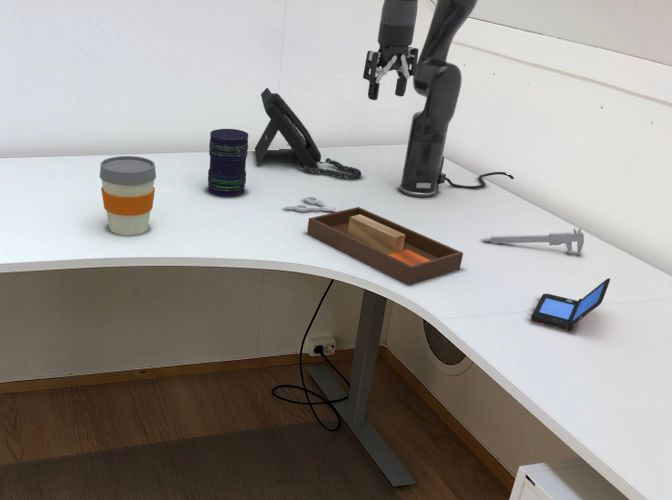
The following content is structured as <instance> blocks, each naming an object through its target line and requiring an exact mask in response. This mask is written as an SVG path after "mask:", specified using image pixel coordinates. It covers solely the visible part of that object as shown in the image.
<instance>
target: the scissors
mask: <svg viewBox="0 0 672 500" xmlns="http://www.w3.org/2000/svg"><path fill="white" fill-rule="evenodd" d="M304 202H306V203H307V204H311V205H312V204H313V205H318V206H319V207H318V206H316V207H315V206H309V205H307V204H295V205H285V210H295V211H297V212H308V211H315V212H317V211H324V212H331V213H334V212H338V211H343V210H344V209H341V208H336V207H334V206H331V205H329V204H328V205H327V204H324V202H321V201H320V200H319V198H317V197H314V196H306V197H305V198H304Z"/></svg>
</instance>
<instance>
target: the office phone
mask: <svg viewBox="0 0 672 500" xmlns="http://www.w3.org/2000/svg"><path fill="white" fill-rule="evenodd" d="M260 97H261V102H262V105H263V109H264V111H265V113H266V115H267V116H268V118H269V119H270V120H269V122H268V123H267V125H266V127H265V129H264V131H263V133H262V134H261V136H260V138H259V140H258V142H257V143H256V144H255V145H256V146H255V147H254V153H255V156H256V162H257V166H258V167H259V165H260V164H261V162H262V160H263V159H264V157H265V155H266V153H267V151H268V150H269V148H270V146H271V145H272V142H273V141H274V139H275V137H276V136H277V134H278V132H279V133H280V134H281V136H282V137H283V139H284V140H285V141H286V142H287V144H288V146H289V147H290V148H291V150H292V151H293V152H294V154H295V155H296V157H297V158H298V160H297V166H298V167H297V168H298V169H301V170H303V171H304V172H307V173H309V174H321V175H324V174H325V175H328V176H335V178H338V177H340V178H342V179H349V180H352V179H357V178H358V179H359V178H360V177H362V170H360V169H358V168H357V167H354V166H348V165H344V164H342V163H340V162H339V161H337V160H335V159H331V158H330V157H328V158H326V159H325V160H324V162H323V161H322V154H321V152H320V150H319V148H318V146H317V145H316V143H315V141H314V139H313V137H312V136H311V134H310V132H309V131H308V129H307V128H306V126H305V125H304V123H303V122H302V121H301V119H300V118H299V117H298V115H296V113H295V112H294V111H293V110H292V109H291V107H290V105H288V104H287V102H286V101H285V100H284V99H283V98H282V96H281V95H280V94H279V93H277V92H275V93H273V92H271V90H270V88H268V87H266V88H265V89H264V90H263V91H262V92H261V94H260ZM300 162H301V163H302V165H303V167H302V166H301V164H300ZM318 163H319V164H327V165H332V166H333V167H335V168H337V169H338V170H341V171H338V170H334V169H329V168H319V166H318Z"/></svg>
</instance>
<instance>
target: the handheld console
mask: <svg viewBox="0 0 672 500" xmlns="http://www.w3.org/2000/svg"><path fill="white" fill-rule="evenodd" d="M610 282H611V278H610V277H609V278H606V279H605V280H603V281H602V282H601V283H600V284H598V286H596V287H594V289H592V290H591V291H590V292H589V293H588V294H586V295H585V296H584V297H582V298H579V299H578V300H575V299H571V298H568V297H564V296H559V295H554V294H550V293H543V294H542V295H541V297H540V299H539V301H538V302H537V304H536V306H535V308H534V309H533V312H532V314H531V316H530V320H531V321H532V322H534V323H537V324H540V325H541V324H542V325H545V326H548V327H553V328H556V329H560V330H565V331H567V332H572V331H573V329H574V326H575V325H576V324H578V323H579V322H580V321H581V320H582V319H584V318H585V317H586V316H588V315H590V313H591V312H593V311H594V310H595V309H597V308H598V307H599V306H600V305H601V304H602V303H603V301H604V298H605V295H606V292H607V290H608V287H609V285H610Z"/></svg>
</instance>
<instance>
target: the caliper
mask: <svg viewBox="0 0 672 500" xmlns="http://www.w3.org/2000/svg"><path fill="white" fill-rule="evenodd" d="M584 235H585V234H584V232H582V229H581V227H579V228H578V230H577V229H576V228H575V227H574V228H573V233H572V232H571V231H570V232H569V231H567V232H549V234H527V235H526V234H525V235H491V236H490V237H488V238H487V237H486V238H484V242H490V244H491V245H493V244H523V243H524V244H528V243H529V244H530V243H531V244H532V243H536V244H537V243H548V245H549V246H550V247H551V246H560V245H562V244H565V246H566V250H567V252H568V255H570V256H572V251H573V243H575V242H576V245H577V248H576V249H577V251H576V254H577V256H579V255H580V254H581V253H582V250H583V246H584V244H585V236H584Z"/></svg>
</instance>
